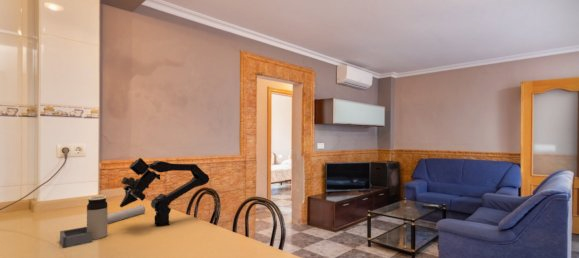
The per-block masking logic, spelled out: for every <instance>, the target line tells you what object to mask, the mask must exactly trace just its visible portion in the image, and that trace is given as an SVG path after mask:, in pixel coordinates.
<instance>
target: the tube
mask: <svg viewBox="0 0 579 258" xmlns="http://www.w3.org/2000/svg"><path fill="white" fill-rule="evenodd" d="M145 212H146V207H145V206H144V205H143V204H140V205H138V206H134V207H133V206H132V207H128V208H126V209H122V210H119V211H115V212H111V213H107V225H109V224H112V223H116V222H119V221H123V220H126V219H129V218H132V217H136V216H140V215H143V214H145Z"/></svg>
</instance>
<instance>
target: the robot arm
mask: <svg viewBox="0 0 579 258" xmlns="http://www.w3.org/2000/svg"><path fill="white" fill-rule="evenodd" d="M128 169H129V170H132V172H134V173H135V175H137V176H140V175H141V177H139V178H136V179H135V177H132V176H130V177H126V176H123V178H122V181H121V182H120V183H121V184H122V185H124V187H122V189H123V190H124V194H125V195H124V197H123V199H122V201H121V202H120V204H119V207H120V208H123V207H126V206H128V205H129V204H132V203H134V202H137V201H139V200H140V201H141V202H143V201H144V200H145V199H146V194H145V193H143V192H145V190H146V189H149V188H150V185H151V184H152V183H153V182H155V180H159V181H160V180H161V173H166V172H167V173H168V172H170V171H178V172H179V171H180V172H181V171H182V172H183V171H184V172H187V171H188V172H191V174H192V176H193V177H192V178H191V179H190V180H189V181H188V182H185V183H184V184H183V185H181V186H179V187H177V188H176V189H174V190H172V191H171V192H169V193H167V194H164V193H159V194H158V195H157V196H154V197H153V198H154V199H152V200H151V203H150V206H151V208H152V209H153V210H154V212H155V215H154V225H155V227H162V226H169V225H170V213H171V210H172V208H171V207H170V205H171V204H172V202H173V201H175V200H177V199H178V198H180V197H182V196H183V195H184V194H186V193H189V192H190V191H191V190H193V189H194V188H197V187H202V186H203V185H206V184H208V183H209V180H210V176H209V174H207V173H205V171H204V170H202V169H201V168H200V167H199V166H198V164H195V163H171V162H167V161H164V160H162V161H161V160H155V161H153V163H146V162H145V160H144V159H143V158H141V157H139V158H138V159H136V160H135V161H133V162H132V163H131V164H130V165H129V167H128Z"/></svg>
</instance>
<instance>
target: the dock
mask: <svg viewBox="0 0 579 258" xmlns="http://www.w3.org/2000/svg"><path fill="white" fill-rule="evenodd" d="M59 242H60V244H61V247H62V249H65V248H68V247H75V246H79V245H84V244H90V243H93V240H92V232H90V233H87V226H83V227H77V228H71V229H66V230H65V229H64V230H60V231H59Z"/></svg>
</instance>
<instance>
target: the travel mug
mask: <svg viewBox="0 0 579 258" xmlns="http://www.w3.org/2000/svg"><path fill="white" fill-rule="evenodd" d="M87 201H88V204H87V205H86V227H87V233H90V232H92V241H94V240H100V239H104V238H105V237H107V236H108V224H107V214H108V202H107V196H106V195H95V196H90V197H88V198H87ZM103 237H104V238H103Z"/></svg>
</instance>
